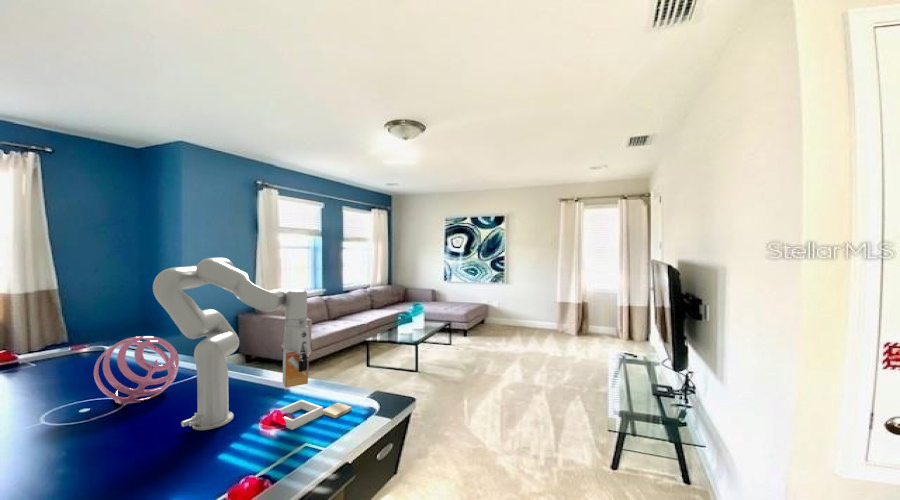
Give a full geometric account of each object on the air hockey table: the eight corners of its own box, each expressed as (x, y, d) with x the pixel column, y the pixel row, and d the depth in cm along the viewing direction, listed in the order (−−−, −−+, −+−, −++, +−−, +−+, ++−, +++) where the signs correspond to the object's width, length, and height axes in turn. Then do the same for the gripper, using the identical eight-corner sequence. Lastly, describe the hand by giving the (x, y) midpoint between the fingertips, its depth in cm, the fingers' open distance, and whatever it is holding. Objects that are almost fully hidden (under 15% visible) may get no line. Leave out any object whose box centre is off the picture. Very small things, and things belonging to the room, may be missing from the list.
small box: (284, 388, 126) (285, 352, 126) (282, 382, 131) (282, 348, 132) (308, 383, 131) (309, 349, 131) (305, 378, 136) (305, 345, 136)
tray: (292, 429, 122) (292, 421, 122) (270, 420, 129) (270, 412, 129) (323, 414, 133) (322, 406, 133) (301, 407, 140) (301, 399, 140)
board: (335, 418, 130) (335, 415, 130) (321, 413, 134) (321, 410, 134) (351, 409, 137) (351, 406, 137) (338, 405, 141) (337, 402, 141)
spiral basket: (74, 357, 146) (115, 322, 141) (150, 354, 171) (187, 325, 166) (76, 422, 134) (121, 387, 130) (158, 410, 160) (197, 380, 155)
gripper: (319, 323, 130) (318, 370, 130) (291, 318, 139) (290, 362, 139) (301, 327, 123) (300, 376, 123) (273, 321, 133) (272, 367, 132)
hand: (295, 368), depth 131 cm, fingers closed on small box, 8 cm apart
